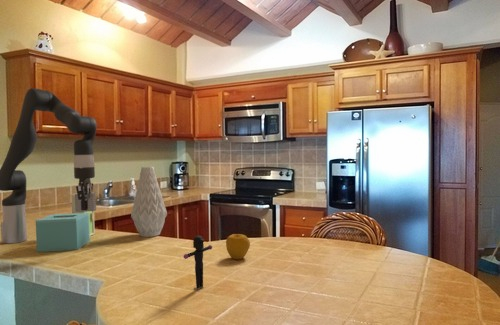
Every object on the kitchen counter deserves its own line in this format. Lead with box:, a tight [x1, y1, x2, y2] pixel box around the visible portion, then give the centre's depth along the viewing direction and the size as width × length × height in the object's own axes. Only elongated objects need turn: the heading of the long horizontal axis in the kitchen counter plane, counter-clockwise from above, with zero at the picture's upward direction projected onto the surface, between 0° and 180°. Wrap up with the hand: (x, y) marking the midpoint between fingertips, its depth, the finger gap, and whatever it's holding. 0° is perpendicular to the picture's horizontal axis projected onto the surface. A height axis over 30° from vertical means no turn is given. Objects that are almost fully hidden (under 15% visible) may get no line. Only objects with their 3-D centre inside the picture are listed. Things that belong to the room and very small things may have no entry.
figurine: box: [183, 235, 213, 291], centre depth 107 cm, size 12×4×15 cm, turn 149°
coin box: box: [35, 212, 91, 253], centre depth 164 cm, size 16×16×13 cm
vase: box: [130, 166, 168, 238], centre depth 181 cm, size 17×17×33 cm
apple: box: [225, 233, 251, 260], centre depth 137 cm, size 8×8×9 cm
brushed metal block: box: [74, 192, 97, 212], centre depth 151 cm, size 7×3×7 cm, turn 96°
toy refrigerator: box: [71, 191, 96, 237], centre depth 184 cm, size 8×7×21 cm
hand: (85, 209), depth 151 cm, fingers closed on brushed metal block, 3 cm apart
